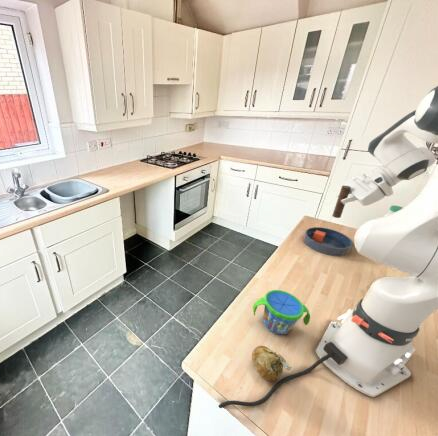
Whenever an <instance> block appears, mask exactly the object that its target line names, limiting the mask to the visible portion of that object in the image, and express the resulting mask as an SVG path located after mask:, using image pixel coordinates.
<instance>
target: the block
mask: <svg viewBox="0 0 438 436" xmlns="http://www.w3.org/2000/svg"><path fill="white" fill-rule="evenodd" d="M325 234H326V233H324V232H321V231H318V230H316V231H315V233H314V235H313V238H312V240H314V241H316V242H319V243H322V241H323V239H324V237H325Z"/></svg>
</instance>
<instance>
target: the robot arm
mask: <svg viewBox="0 0 438 436" xmlns="http://www.w3.org/2000/svg"><path fill="white" fill-rule="evenodd" d="M406 133H409V134H411V135H413V136H414V137H416V138H418V139H420V140H421V141H424V142H427V143H431V144H438V85H437V86H435V87H433V88H432V89H431V90H430V91H429V92H428V93H427V94H426V95H425V96H424V97H423V98H422V99H421V100H420V102H419V103H418V105H417V106H416V109H415V110H413V111H411V112H409V113H408V114H406V115H405V116H403V117H402V118H400V119H399V120H398V121H396V122H395V123H394V124H393V125H391V126H390V127H389V128H388V129H386V130H385V131H383V132H382V133H380V134H378V135H377V136H376V137H375V136H374V138H373V139H372V140H371V141H370V142H369V143H368V146H367V152H368V153H369V154H370V155H372V156H373V157H374V158H376V160H377V161H378V162H379V163H381V164H382V165H381V166H378V167H376V168H374V169H373V170H370V171H369V172H367V173H365V174H362V173H361V174H358V175H355V176H353V177H350V178H349V179H346V180H344V181H343V182H342V183H341V185H342V186H350V187H351V189H350V192H349V195H350V196H348V197H347V198H343V199H341V200H340V201H341V202H342V203H343V204H345V205H346V204H348V203H351V202H355V201H358V202H359V203H360V204H361V205H362V206H370V205H372V204H374V203H377V202H379V201H381V200H383V199H384V198H385V197H391V196H393V194H394V191H393V187H394V186H396V185H397V184H399V183H400V182H402V181H410V180H412V179H415V178H416V177H418V176H420V175H422V174H424V173H425V172H426V171H427V170H428V168H430V167H431V166H432V165H434V164H435V163H436V160H437V158H436V156H435V154H434V152H433V151H432V150H430V149H429V148H427V147H424V146H419V147H417V146H416V145H414V144H413V142H411V141H410V139H408V138H407V137H406V136H405V134H406ZM338 197H339V194H338V195H336V198H337V199H338ZM383 216H384V217H383ZM383 216H380V217H376V218H372V219H369V220H368V221H366V222H363V223H362V224H361V225H360V226H359V227H358V228H357V230H356V231H355V232H354V233H355V234H354V236H353V245H354V247H355V250H356V252H357V253H358V254H360V255H362V256H364V257H365V258H367V259H369V260H371V261H373V262H375V263H377V264H379V265H382V266H384V267H387V268H391V269H393V270H396V271H399V272H402V273H405V274H408V275H409V276H408V275H407V276H406V275H405V276H395V275H394V276H392V275H390V276H389V275H388V276H383V277H381V278H378V279H376V280H374V281H373V282H372V283H371V285H370V287H369V288H368V290H367V291H366V294H365V295H364V297H363V298H361V299H360V300H359V302H358V303H357V304H356V305H355V307H354V308H348V309H347V311H346V313H344V314H342V315H340V316H338V317H337V320H338V321H335V320H332V321H331V322H330V323H329V324H328V326H327V328H326V330H325V332H324V334H323V335H322V337H321V340H320V341H319V343H318V345H317V347H316V349H315V354H316V355H317V357H318V358H319V359H318V360H316V361H315V362H314V363H313V364H312V365H311V366H309V367H308V368H306V369H304V370H301V371H299V372H297V373H293V374H289V375H288V376H285V377H283V378H281V379H280V380H278V381H277V382H276V383H275V384H274V385H273V387H272V388H270V390H269V391H268V392H267V393H266V395H264V396H263V397H262V398H260V399H258V400H256V401H241V400H226V401H223V402H221V403H219V404H218V408H219V409H223V408H224V407H228V406H242V407H257V406H260V405H262V404H263V403H266V401H268V400H269V399H270V398H271V397H272V396H273V394H274V393H275V392H276V391H277V389H278V388H279V387H280V386H282V385H283V384H285V383H286V382H288V381H290V380H293V379H296V378H299V377H303V376H305V375H306V374H307V375H308V374H309V373H310V372H312V371H313V370H315V369H316V368H317V367H318V366H319V365H320V364H322V363H323V364H324V365H325V366H326V367H327V368H328V369H329V370H330V371H331V372H332V373H333V374H334V375H336V376H337V377H338V378H339V379H341V380H342V381H343V382H345V383H346V384H347V385H348V386H350V387H352V388H353V389H354V390H356V391H358V392H360V393H362V394H364V395H366V396H369V397H370V398H376V397H377V396H380V395H381V394H383V393H384V392H386V391H388V390H390V389H392V388H393V387H395V386H396V385H399V384H400V383H402V382H403V381H405V380H407V379H409V378H410V376H411V375H412V373H411V371H410V369H409V368H408V367H407V366H406V364H408V362H409V361H411V359H410V358H411V357H412V355H413V354H414V353H415V351H416V348H415V346H414V344H413V340H414V339H415V338H416V337H417V336H418V334H419V332H420V327H421V325H422V324H423V323H424V322H425V321H426V320H427V319H428V318H429V317H430V316H431V315H432V314H433V313H434V312H435V311H437V310H438V163H437V164H436V166H435V168H434V170H433V171H432V174H431V175H430V177H429V179H428V180H427V182H426V183H425V185H423V188H422V189H421V190H420V192H419V193H418V195H416V197H415V198H414V199H413V200H412V201H411V202H409V203H408V204H407V205H406V206H404V207H403V208H402V209H401V210H399V211H397V212H395V213H392V214H390V215H387V216H385V215H383ZM341 319H342V320H341ZM339 320H341V322H339Z"/></svg>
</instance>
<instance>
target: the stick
mask: <svg viewBox="0 0 438 436" xmlns="http://www.w3.org/2000/svg"><path fill="white" fill-rule="evenodd" d="M350 189H351V187H350V186H343V185H342V186H341V189H340V191H339V194H338V195H339V197H338V198H337V200H336V203H335V206H334V208H333V209H334V210H333V211H332V218H336V219H340V218H342V215H343V212H344V210H345V206H346V203H345V204H343V203H342V202H341V201H340V200H341V199H343V198H348V197H349V195H350V194H349V192H350Z"/></svg>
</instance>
